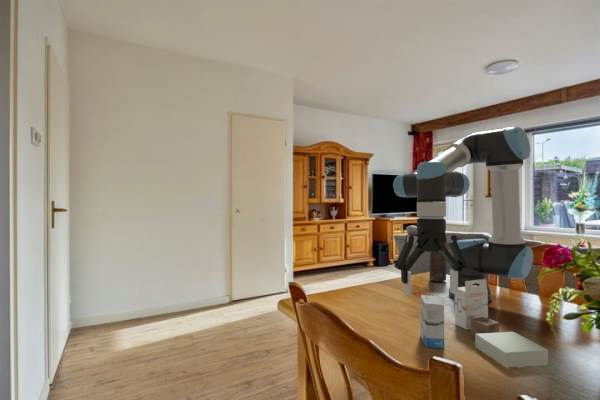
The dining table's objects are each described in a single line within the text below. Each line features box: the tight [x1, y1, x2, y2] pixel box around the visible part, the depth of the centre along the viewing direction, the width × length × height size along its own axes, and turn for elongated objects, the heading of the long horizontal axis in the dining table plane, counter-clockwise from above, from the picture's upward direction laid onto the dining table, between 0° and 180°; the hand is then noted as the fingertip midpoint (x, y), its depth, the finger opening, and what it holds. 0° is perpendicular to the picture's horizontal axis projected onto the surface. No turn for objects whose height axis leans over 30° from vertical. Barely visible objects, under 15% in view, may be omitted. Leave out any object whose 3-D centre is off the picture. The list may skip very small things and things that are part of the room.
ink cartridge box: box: [454, 278, 489, 330], centre depth 103 cm, size 9×5×15 cm, turn 106°
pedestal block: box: [474, 331, 549, 368], centre depth 83 cm, size 11×11×4 cm
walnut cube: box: [470, 317, 500, 339], centre depth 94 cm, size 5×5×5 cm
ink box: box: [420, 294, 445, 349], centre depth 92 cm, size 8×5×12 cm, turn 168°
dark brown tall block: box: [429, 241, 448, 283], centre depth 157 cm, size 8×7×20 cm
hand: (431, 294), depth 92 cm, fingers open, 13 cm apart
